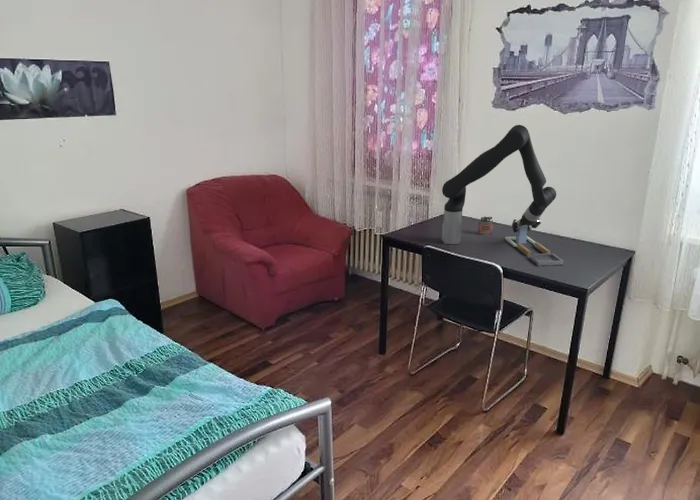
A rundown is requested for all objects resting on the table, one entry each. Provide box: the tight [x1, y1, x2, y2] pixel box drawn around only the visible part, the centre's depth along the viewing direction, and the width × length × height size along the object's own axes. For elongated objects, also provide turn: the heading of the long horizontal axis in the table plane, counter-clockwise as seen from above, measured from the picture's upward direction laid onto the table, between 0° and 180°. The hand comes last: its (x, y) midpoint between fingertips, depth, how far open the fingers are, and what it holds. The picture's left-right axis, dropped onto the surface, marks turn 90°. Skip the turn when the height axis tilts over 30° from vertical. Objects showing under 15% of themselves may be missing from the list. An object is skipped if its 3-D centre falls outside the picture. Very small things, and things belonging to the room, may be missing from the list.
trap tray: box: [528, 252, 565, 267], centre depth 242 cm, size 12×11×2 cm
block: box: [515, 226, 528, 245], centre depth 269 cm, size 4×4×9 cm
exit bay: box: [504, 235, 536, 248], centre depth 270 cm, size 12×13×1 cm
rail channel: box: [516, 241, 551, 257], centre depth 256 cm, size 11×14×2 cm
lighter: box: [477, 215, 494, 236], centre depth 283 cm, size 8×3×10 cm, turn 92°
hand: (520, 230), depth 270 cm, fingers open, 6 cm apart
